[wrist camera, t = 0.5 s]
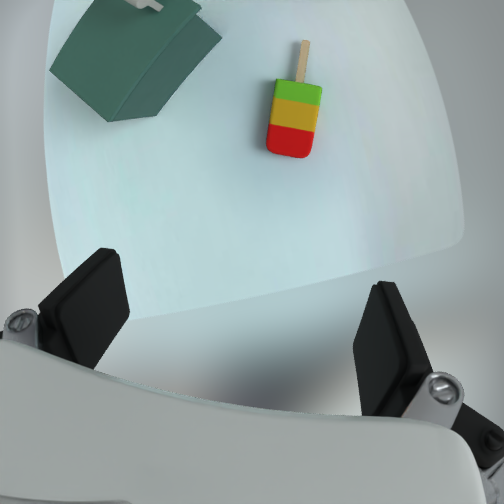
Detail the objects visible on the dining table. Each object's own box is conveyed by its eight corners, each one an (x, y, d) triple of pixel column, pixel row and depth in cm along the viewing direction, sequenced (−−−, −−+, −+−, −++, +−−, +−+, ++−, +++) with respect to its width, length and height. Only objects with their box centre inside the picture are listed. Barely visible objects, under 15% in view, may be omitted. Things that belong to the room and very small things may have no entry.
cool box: (161, -2, 28) (122, -27, 18) (222, 38, 30) (196, 14, 21) (103, 72, 33) (53, 70, 24) (155, 116, 36) (112, 121, 26)
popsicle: (265, 150, 36) (263, 152, 35) (283, 38, 29) (282, 34, 28) (308, 158, 36) (309, 161, 34) (328, 46, 29) (330, 43, 27)
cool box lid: (127, -33, 18) (100, -49, 13) (202, 7, 20) (182, -12, 15) (53, 70, 24) (20, 71, 19) (112, 121, 26) (80, 127, 21)
